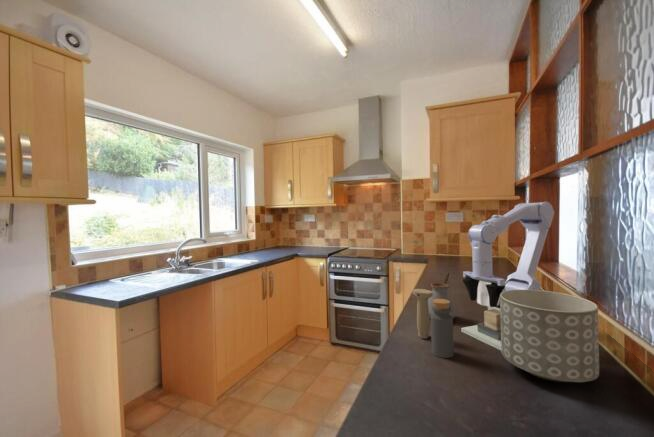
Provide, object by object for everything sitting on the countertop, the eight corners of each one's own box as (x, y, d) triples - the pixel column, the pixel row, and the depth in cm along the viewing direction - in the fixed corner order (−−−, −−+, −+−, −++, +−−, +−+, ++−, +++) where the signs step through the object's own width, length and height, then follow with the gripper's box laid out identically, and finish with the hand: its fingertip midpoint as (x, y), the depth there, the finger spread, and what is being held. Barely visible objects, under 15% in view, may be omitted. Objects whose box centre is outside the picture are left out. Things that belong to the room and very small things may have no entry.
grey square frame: (498, 327, 96) (498, 319, 96) (520, 335, 89) (520, 327, 89) (477, 331, 93) (477, 323, 93) (498, 340, 86) (498, 332, 86)
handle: (428, 342, 88) (427, 294, 88) (410, 336, 93) (409, 290, 93) (436, 337, 92) (435, 291, 92) (418, 332, 96) (417, 288, 96)
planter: (608, 407, 57) (607, 317, 57) (498, 378, 68) (497, 303, 68) (591, 366, 73) (589, 295, 73) (503, 347, 84) (502, 286, 84)
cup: (506, 307, 120) (506, 283, 120) (482, 307, 120) (482, 284, 120) (493, 300, 130) (492, 278, 130) (471, 300, 130) (470, 279, 130)
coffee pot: (452, 326, 101) (451, 284, 101) (420, 320, 108) (419, 280, 108) (464, 309, 118) (463, 273, 118) (435, 305, 125) (435, 271, 125)
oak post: (494, 330, 93) (494, 309, 93) (507, 335, 89) (506, 313, 89) (484, 332, 92) (484, 310, 92) (496, 337, 88) (496, 315, 88)
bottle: (452, 350, 83) (451, 298, 83) (454, 359, 78) (453, 304, 78) (431, 347, 85) (430, 297, 85) (431, 356, 80) (430, 303, 79)
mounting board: (490, 325, 100) (489, 305, 100) (536, 344, 85) (536, 320, 85) (461, 331, 96) (460, 310, 96) (504, 352, 81) (503, 327, 81)
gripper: (455, 259, 98) (456, 298, 98) (492, 265, 85) (493, 311, 85) (471, 258, 101) (472, 296, 101) (509, 264, 87) (510, 308, 87)
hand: (483, 303), depth 93 cm, fingers open, 7 cm apart
